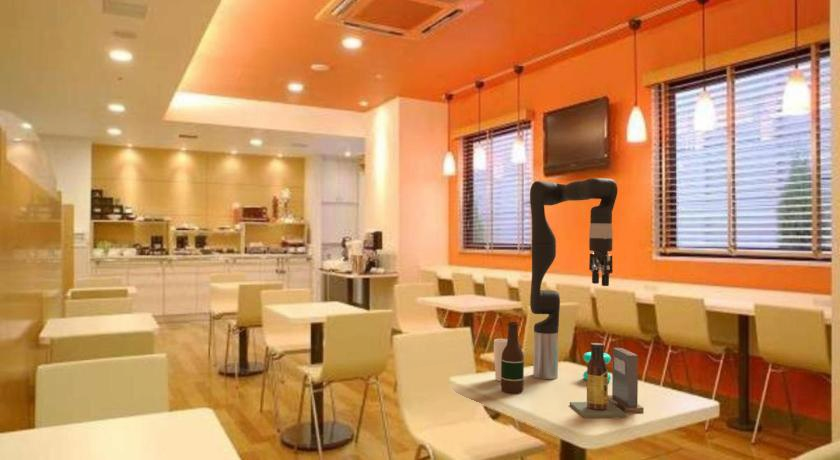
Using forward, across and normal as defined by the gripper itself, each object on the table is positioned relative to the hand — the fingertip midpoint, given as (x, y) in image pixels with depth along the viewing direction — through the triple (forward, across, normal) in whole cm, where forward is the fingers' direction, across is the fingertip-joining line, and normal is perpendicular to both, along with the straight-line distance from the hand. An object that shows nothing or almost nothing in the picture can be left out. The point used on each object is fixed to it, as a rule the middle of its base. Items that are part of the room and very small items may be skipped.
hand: (600, 284), depth 200 cm
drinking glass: (+38, -23, -28) cm, 53 cm away
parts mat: (+38, +16, -7) cm, 42 cm away
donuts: (+38, -22, +8) cm, 45 cm away
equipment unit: (+38, +11, +4) cm, 40 cm away
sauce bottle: (+37, +16, -7) cm, 41 cm away
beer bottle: (+38, -8, -28) cm, 48 cm away
